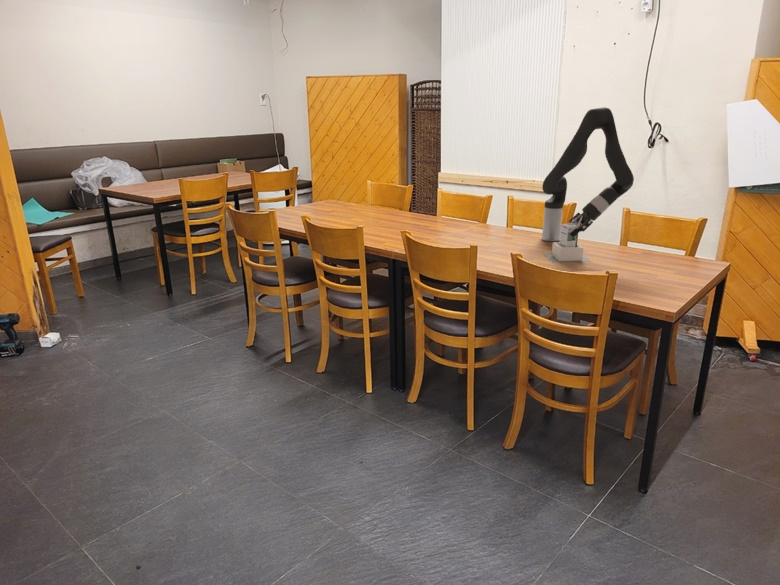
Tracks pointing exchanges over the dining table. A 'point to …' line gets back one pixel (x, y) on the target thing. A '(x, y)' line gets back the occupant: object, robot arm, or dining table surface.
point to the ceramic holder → (567, 252)
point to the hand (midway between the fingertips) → (568, 233)
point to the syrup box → (568, 236)
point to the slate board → (564, 261)
